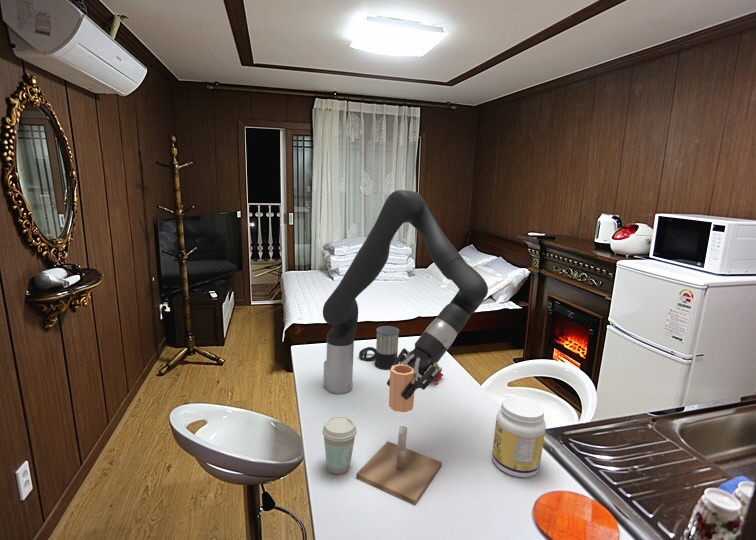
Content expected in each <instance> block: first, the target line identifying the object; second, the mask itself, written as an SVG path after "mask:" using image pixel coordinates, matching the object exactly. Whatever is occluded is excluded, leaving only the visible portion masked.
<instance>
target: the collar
mask: <svg viewBox="0 0 756 540" xmlns="http://www.w3.org/2000/svg"><path fill="white" fill-rule="evenodd" d="M413 370H414V369H413V368H411V367H410V366H408V365H403V364H400V363H398V365H393V366H392V367H391V369H390V370H389V378H390V387H389V388H388V389H389V390H388V391H389V394H388V407H389V408H390V409H391V410H393V412H400V413H406V412H410V411H412V410H413V407H414V401H415V392H414V393H413V394H412V395H411V397H410V398H409V399H407V400H406V399H404V398H403V397H402V396H401V393H402V392H403V390H404V389H405V388H406V387H407V385H408V384H409V383H410V384H411V380H412V378H413V376H414V372H413Z"/></svg>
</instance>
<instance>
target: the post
mask: <svg viewBox="0 0 756 540" xmlns="http://www.w3.org/2000/svg"><path fill="white" fill-rule="evenodd" d="M407 434H408V428H407V427H406V426H405V425H403V426H402V425H401V426H399V427H398V434H397V435H398V437H397V444H396V443H394V442H391V441H389V440H387V441H386V443H384V445H383V446H382V447H381V448H380V449H378V450H377V452H376V453H375V454H374V455H373V456H372V457H371V458H370V459H368V461H367V462H365V464H364V465H363V466H362V467H361V468H360V469H359V470H358V472H356V473H355V474H356V476H355V478H356V479H357V478H358V479H357V480H359V479H360V480H359V481H361V482H363V483H366V484H368V485H371V486H373V487H375V488H377V489H379V490H382V491H384V492H386V493H387V494H391V495H393V496H395V497H397V498H398V499H401V500H404V501H405V502H408V503H410V504H412V505H414V506H415V505H416V504H417V503H418V501H419V500H420V498H422V495H423V494H424V493H425V491H426V490H427V488H428V487H429V485H430V484H431V482H432V481H433V480H434V478H435V477H436V475H437V474H438V472H439V471H440V470H441V468H442V465H443V464H442V463H443V462H442V461H439V460H437V459H435V458H432V457H430V456H427V455H424V454H422V453H420V452H418V451H414V450H412V449H409V448H407V446H406V445H407V437H408V435H407Z"/></svg>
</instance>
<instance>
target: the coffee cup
mask: <svg viewBox="0 0 756 540" xmlns="http://www.w3.org/2000/svg"><path fill="white" fill-rule="evenodd" d="M321 431H322V435H323V441H324V451H325V452H324V453H325V461H326V469H327V471H328V470H329V471H330V473H331V472H332V473H331V474H333V473H335V474H334V475H343V474H345V472H346V473H348V471H349V470H350V468H351V463H352V455H353V451H354V450H353V449H354V445H355V444H354V443H355V437H356V435H357V433H358V430H357V426H356V424H355V421H354V420H353V419H352V418H350V417H349V416H348V417H347V416H343V415H340V416H339V415H337V416H332V417H330V418H328V419H327V420H326V421H325V422H324V425H323V427H322V430H321ZM348 469H349V470H348ZM329 471H328V472H329ZM342 473H343V474H342Z"/></svg>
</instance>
